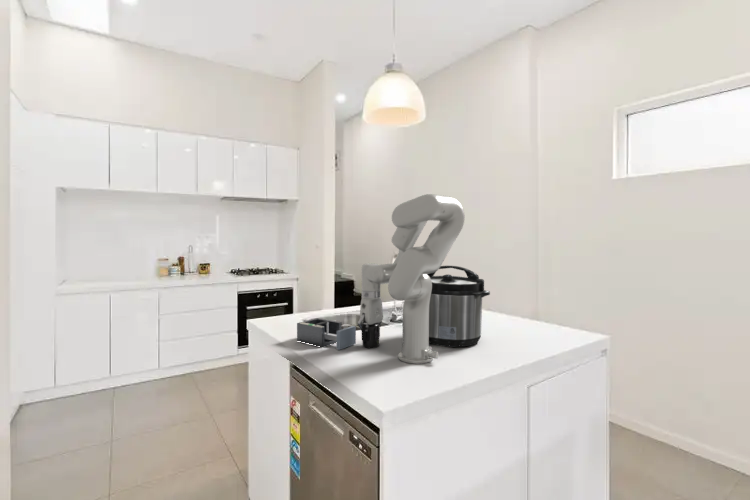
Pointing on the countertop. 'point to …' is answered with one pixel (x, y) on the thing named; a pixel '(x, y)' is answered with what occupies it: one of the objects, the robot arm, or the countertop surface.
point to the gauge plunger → (341, 336)
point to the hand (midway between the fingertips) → (370, 338)
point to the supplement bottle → (372, 336)
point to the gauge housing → (317, 331)
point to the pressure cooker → (456, 308)
